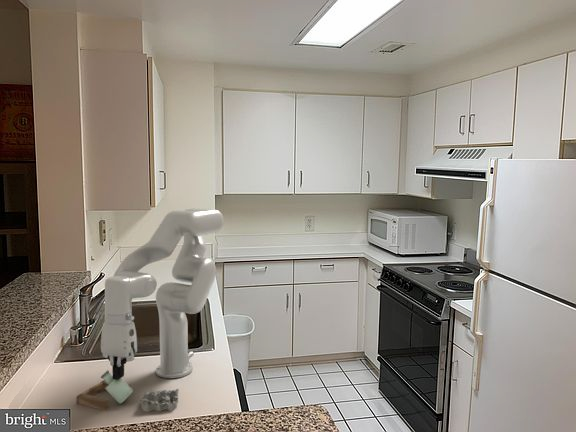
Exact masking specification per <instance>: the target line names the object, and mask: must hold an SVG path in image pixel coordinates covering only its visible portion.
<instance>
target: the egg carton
mask: <svg viewBox="0 0 576 432" xmlns="http://www.w3.org/2000/svg"><path fill="white" fill-rule="evenodd" d="M171 400H172V402H171ZM160 401H161V403H159V402H160ZM140 403H141V411H144V412H145V413H149V412H150V411H152V410H153V411H156V412H161V411H162V410H168V411H170V412H171V411H174V410H175V409H177V408H178V403H179V388H176V389H172V390H171V389H170V390H167V389H164V390H152V389H150V390H148V391H147V392H145V393H144V394H143V396H142V399H140Z"/></svg>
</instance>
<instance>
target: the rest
mask: <svg viewBox="0 0 576 432" xmlns="http://www.w3.org/2000/svg"><path fill="white" fill-rule="evenodd" d="M128 385H129V386H130V387H131V388H132V385H131V384H128ZM107 386H108V384H107V383H106V382H105V380H104V379H102V380H101V381H100V382H98V383H96V384H95V385H92V387H89V388H88V389H86V390H85V391H83V392H81V393H79V394H78V395H76V404H77V405H81V406H85V407H89V408H94V409H98V410H102V411H103V410H104V411H106V410H108V409H109V408H110V399H108V398H104V397H100V396H99V397H98V396H96V395H98V394H99V393H101V392H102V391H106V392H108V391H107V390H106V389H105V388H106V387H107Z"/></svg>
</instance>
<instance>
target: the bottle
mask: <svg viewBox="0 0 576 432" xmlns="http://www.w3.org/2000/svg"><path fill="white" fill-rule="evenodd" d="M100 379H102V380H105V382H106V383H107V384H108V386H107V387H106V388H105V389H106V390H107V391H106V390H105V391H106V392H107V393H109V394H110V396H111V397H113V399H114V400H115V401H116V402H117V403H118V404H119V405H121V404H122V403H123V402H124V401H126V399H127V398H128V397H130V396H131V395H132V394H133V392H134V389H133V388H132V386H131V387H130V386H129V385H130V384H128V383H127V382H126V381H125V380H124V379H123V377H122V378H120V379H118V380H116V379H113V374H111V372H110V371H109V370H108V369H107V370H106V371H105V372H104V373H103V374H102V375H100Z"/></svg>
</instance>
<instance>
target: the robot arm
mask: <svg viewBox="0 0 576 432" xmlns="http://www.w3.org/2000/svg"><path fill="white" fill-rule="evenodd" d="M224 222H225V221H224V216H223V213H222V212H221V211H220V210H217V209H211V208H210V209H209V208H208V209H207V208H186V209H184V210H172V211H169V212H168V213H167V214H166V215H165V216H164V218H163V219H162V221H161V223H160V224H159V225H158V227H157V228H156V230H155V231H154V233H153V234H152V236H151V238H150V239H149V240H148V241H147V242H146V243H145V244H143V245H141V246H140V247H138V248H137V249H135V250H134V251H132V252H131V253H130V254H128V255H127V256H126V257H124V259H123V260H122V262H121V263H120V264H119V265H118V267H117V269H116V270H115V271H114V274H113V275H112V276H109V277H107V278H106V279H105V281H104V322H103V324H102V329H101V336H100V351H101V353H102V357H103V358H105V359H107V360H108V361H109V363H110V366H111V368H112V369H111V370H112V374H111V375H112V376H113V379H116V380H118V379H120V378H122V379H123V377H124V376H125V364H127V362H132V361H134V360H135V354H136V353H137V352H138V337H137V330H136V326H135V322H134V320H135V316H134V315H132V314H133V313H132V311H133V309H132V307H133V305H132V301H133V299H141V298H147V297H150V296H152V294H154V292H155V291H156V293H155V302H156V307H157V310H158V319H159V349H160V350H159V357H160V358H159V361H160V362H159V363H160V364H159V365H157V367H156V368H155V375H156V376H158V377H159V378H163V379H178V378H183V377H185V376H187V375H190V373H192V371H193V364H192V363H191V362H190V361H189V360H190V358H192V357H193V356H194V355H195V354H194V352H193V351H192V350H191V351H189V346H188V343H189V340H188V339H189V338H188V333H189V332H188V326H189V325H188V318H187V315H186V314H190V315H193V314H194V315H195V314H198V313H200V312H201V311H202V309H203V308H204V306H205V304H206V302H207V299H208V298H209V297H208V296H209V294H210V292H211V289H212V287H213V284H214V282H215V279H216V274H217V267H216V264H215V262H214V261H213V260H212V259H211V258H209V257H204V256H205V253H206V250H207V249H206V248H207V246H206V241H205V238H204V236H208V235H213V234H216V233H218V232H219V231H221V229H222V228H223V226H224V224H225V223H224ZM182 238H183V243H182V246H181V249H180V251H179V253H178V255H177V257H176V259H175V262H174V264H173V267H172V269H171V275H172V278H174V280H175V281H179V282H165V283H162V284H161V285H160V286H159V287H158V288H157V282H158V281H157V279H156V278H155V276H153V275H152V274H150V273H147V272H140V270H142V269H143V268H144V267H147V265H150V264H152V263H155V262H160V261H162V260H164V259H167V258H169V257H170V256H171V255H172V254H173V252H174V251H175V249H176V247H177V246H178V244H179V243H180V241H181V239H182ZM180 282H181V283H180ZM185 283H186V284H185ZM187 283H188V284H187ZM156 289H157V290H156Z"/></svg>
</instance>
